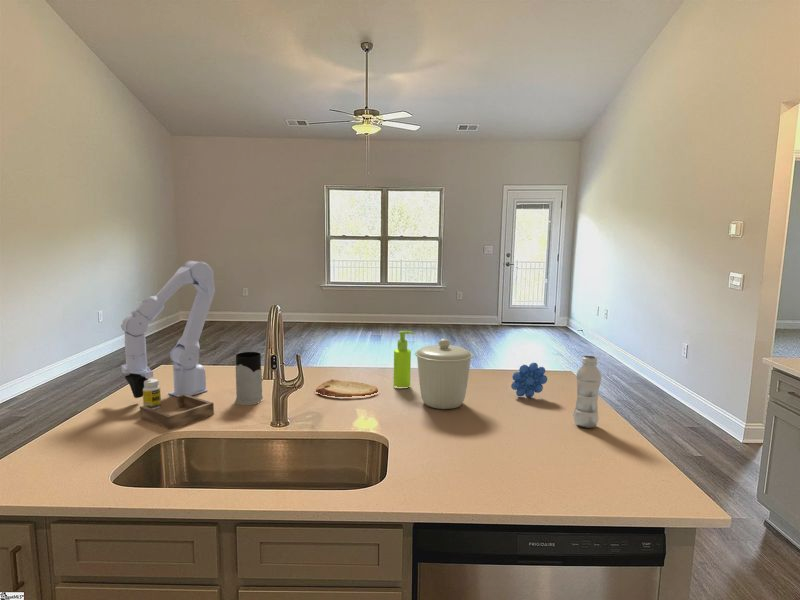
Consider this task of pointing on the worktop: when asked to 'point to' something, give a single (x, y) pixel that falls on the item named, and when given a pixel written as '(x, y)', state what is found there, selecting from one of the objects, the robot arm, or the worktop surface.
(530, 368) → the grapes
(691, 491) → the worktop surface
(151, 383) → the supplement bottle
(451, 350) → the canister
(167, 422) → the walled box
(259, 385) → the grey and black cylinder
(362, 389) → the slice of bread
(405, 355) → the soap dispenser
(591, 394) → the plastic bottle
